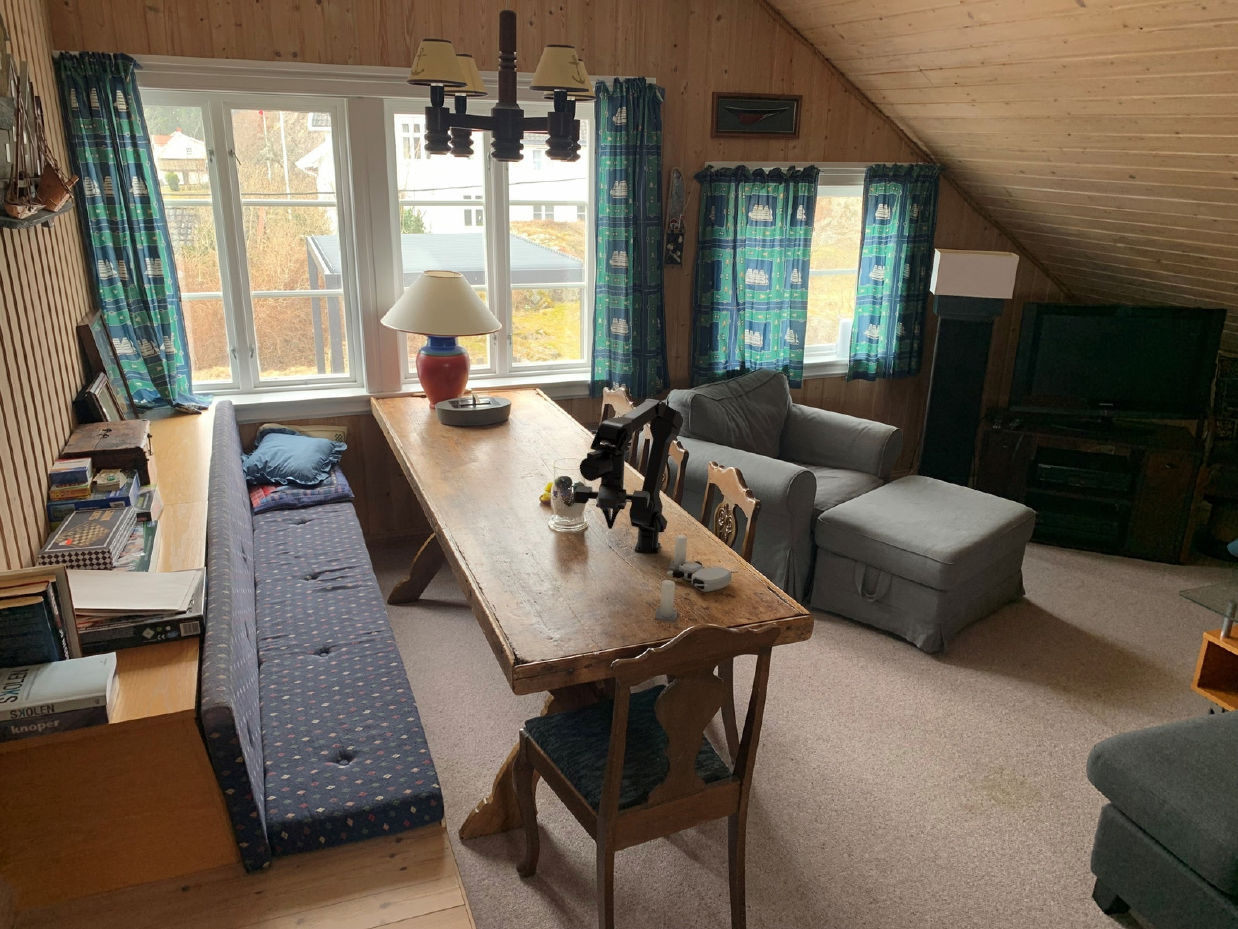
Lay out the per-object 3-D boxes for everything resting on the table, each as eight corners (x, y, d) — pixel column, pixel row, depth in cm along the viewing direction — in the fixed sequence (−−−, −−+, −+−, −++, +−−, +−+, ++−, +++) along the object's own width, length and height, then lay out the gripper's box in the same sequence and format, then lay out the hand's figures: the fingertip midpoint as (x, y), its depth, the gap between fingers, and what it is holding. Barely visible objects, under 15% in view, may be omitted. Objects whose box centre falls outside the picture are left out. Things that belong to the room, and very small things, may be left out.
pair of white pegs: (671, 562, 238) (673, 532, 235) (689, 564, 237) (692, 534, 234) (654, 619, 207) (656, 586, 204) (675, 622, 206) (677, 588, 203)
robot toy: (663, 583, 228) (708, 600, 217) (663, 567, 226) (708, 583, 216) (695, 570, 236) (740, 586, 225) (695, 554, 235) (740, 569, 224)
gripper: (570, 478, 216) (568, 537, 221) (646, 484, 214) (643, 544, 219) (578, 463, 226) (576, 520, 231) (651, 469, 224) (648, 527, 229)
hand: (610, 528), depth 227 cm, fingers closed
